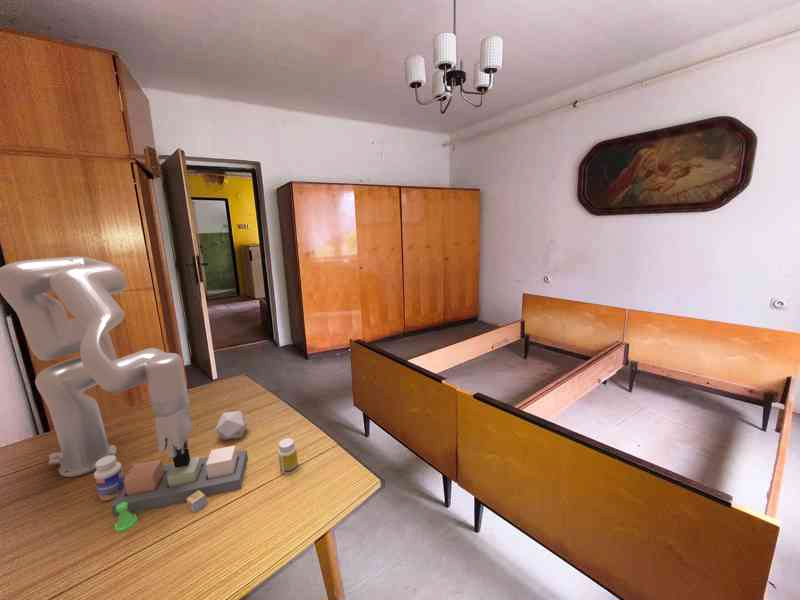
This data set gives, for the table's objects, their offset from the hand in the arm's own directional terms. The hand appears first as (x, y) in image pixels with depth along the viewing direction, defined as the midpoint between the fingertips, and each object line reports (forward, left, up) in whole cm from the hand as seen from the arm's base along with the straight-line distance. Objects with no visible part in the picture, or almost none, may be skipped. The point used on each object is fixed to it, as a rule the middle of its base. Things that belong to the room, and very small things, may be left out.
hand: (182, 464), depth 87 cm
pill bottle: (-18, +3, -7) cm, 19 cm away
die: (+8, +19, -7) cm, 22 cm away
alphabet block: (+5, -9, -7) cm, 12 cm away
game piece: (-10, -10, -7) cm, 15 cm away
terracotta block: (-9, 0, -4) cm, 10 cm away
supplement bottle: (+26, -2, -7) cm, 27 cm away
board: (0, 0, -6) cm, 6 cm away
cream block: (+9, 0, -4) cm, 10 cm away
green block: (0, 0, -6) cm, 6 cm away
